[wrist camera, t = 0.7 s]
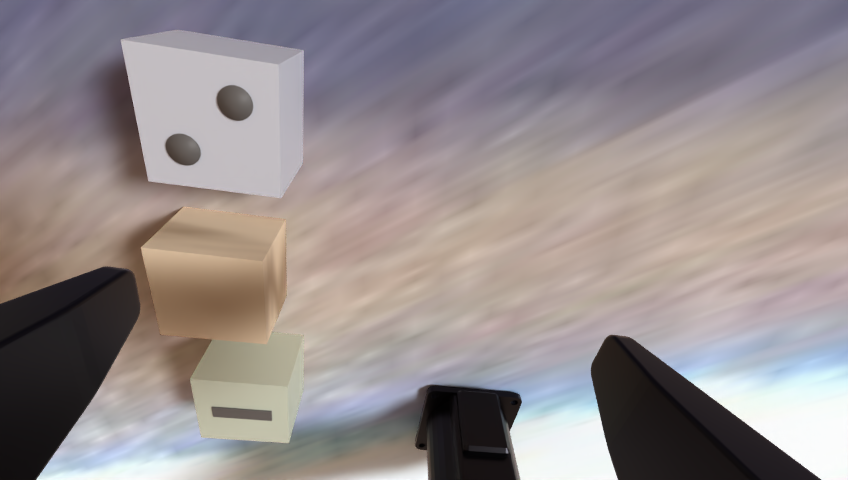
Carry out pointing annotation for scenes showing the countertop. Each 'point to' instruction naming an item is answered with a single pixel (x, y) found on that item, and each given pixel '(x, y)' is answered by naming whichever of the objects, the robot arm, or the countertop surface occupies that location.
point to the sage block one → (250, 388)
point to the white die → (217, 111)
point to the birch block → (217, 275)
